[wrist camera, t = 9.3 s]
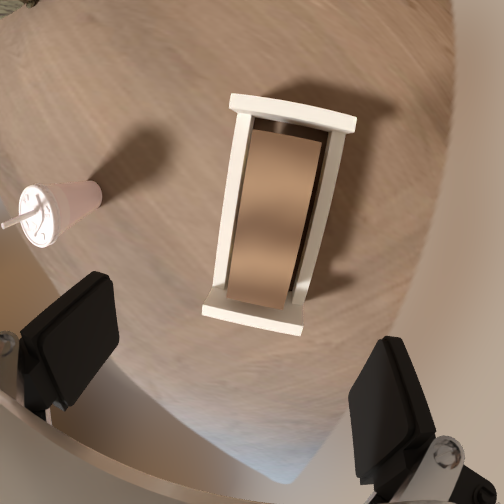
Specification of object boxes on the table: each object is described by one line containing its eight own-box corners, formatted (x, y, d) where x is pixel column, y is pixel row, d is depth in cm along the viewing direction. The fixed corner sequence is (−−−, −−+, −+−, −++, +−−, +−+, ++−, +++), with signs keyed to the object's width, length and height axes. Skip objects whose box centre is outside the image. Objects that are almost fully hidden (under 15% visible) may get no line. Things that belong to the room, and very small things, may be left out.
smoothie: (116, 179, 28) (22, 211, 16) (105, 228, 31) (22, 278, 18) (79, 162, 28) (-12, 186, 15) (70, 209, 31) (-12, 247, 18)
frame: (244, 104, 24) (231, 93, 18) (343, 123, 23) (357, 117, 18) (217, 285, 31) (201, 314, 26) (300, 302, 31) (300, 336, 25)
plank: (259, 132, 23) (252, 129, 19) (316, 143, 23) (321, 142, 18) (236, 275, 28) (226, 298, 24) (285, 285, 28) (282, 310, 24)
